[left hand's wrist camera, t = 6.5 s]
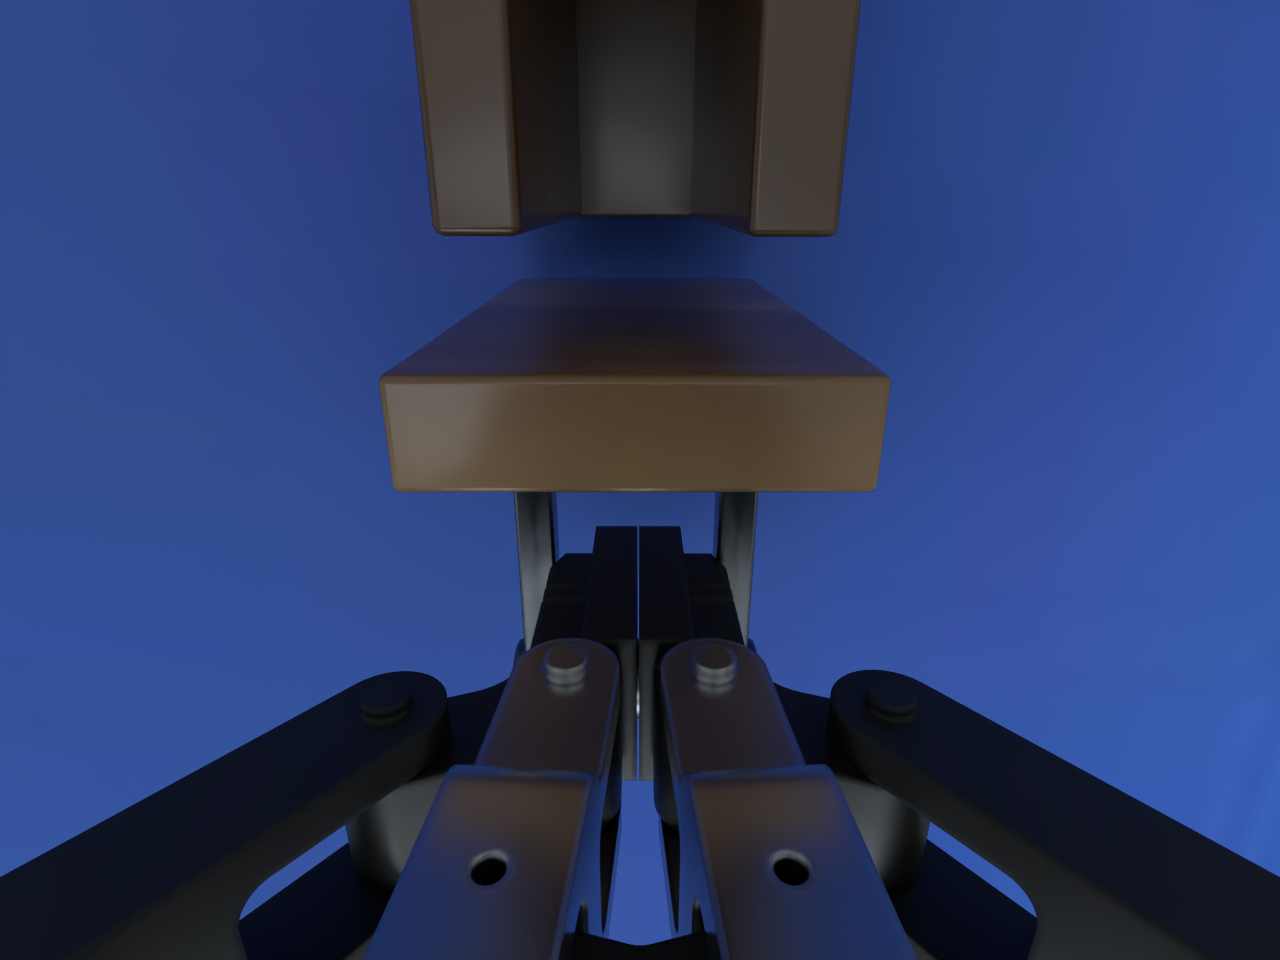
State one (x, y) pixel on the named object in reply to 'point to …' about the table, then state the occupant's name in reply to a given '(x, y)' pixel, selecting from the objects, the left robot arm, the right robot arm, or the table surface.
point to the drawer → (635, 308)
